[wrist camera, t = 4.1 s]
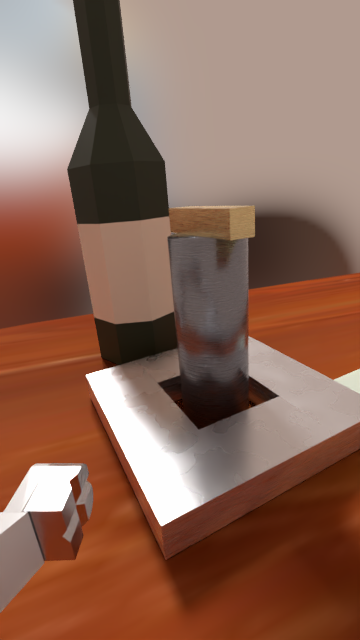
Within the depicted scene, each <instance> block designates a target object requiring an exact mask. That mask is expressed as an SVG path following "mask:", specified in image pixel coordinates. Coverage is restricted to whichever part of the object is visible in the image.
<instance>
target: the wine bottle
mask: <svg viewBox="0 0 360 640" xmlns="http://www.w3.org/2000/svg"><path fill="white" fill-rule="evenodd" d="M73 3H74V10H75V16H76V23H77V30H78V36H79V43H80V49H81V56H82V63H83V69H84V76H85V82H86V89H87V96H88V102H89V108H90V109H89V112H88V114H87V117H86V119H85V122H84V125H83V128H82V130H81V133H80V136H79V139H78V141H77V144H76V147H75V150H74V152H73V155H72V158H71V161H70V163H69V166H68V169H67V170H68V176H69V181H70V187H71V192H72V198H73V202H74V209H75V214H76V220H77V225H78V230H79V236H80V242H81V247H82V252H83V257H84V263H85V269H86V274H87V280H88V285H89V291H90V296H91V302H92V307H93V313H94V318H95V324H96V329H97V335H98V340H99V346H100V351H101V357H102V358H104V359H106V360H108V361H111V362H113V363H115V364H117V365H122V364H125V363H128V362H132V361H135V360H139V359H142V358H145V357H149V356H152V355H156V354H159V353H162V352H166V351H169V350H173V349H176V348H177V338H176V327H175V316H174V305H173V294H172V284H171V273H170V262H169V251H168V240H167V237H168V236H170V235H171V230H170V218H169V207H168V195H167V183H166V173H165V161H164V160H163V158H162V156H161V155H160V153H159V151H158V150H157V148H156V147H155V145H154V143H153V142H152V140H151V138H150V137H149V135H148V134H147V132H146V131H145V129H144V127H143V125H142V124H141V122H140V121H139V119H138V117H137V116H136V114H135V112H134V111H133V109H132V108H131V99H130V90H129V81H128V72H127V63H126V55H125V45H124V36H123V27H122V18H121V10H120V1H119V0H73Z"/></svg>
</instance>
